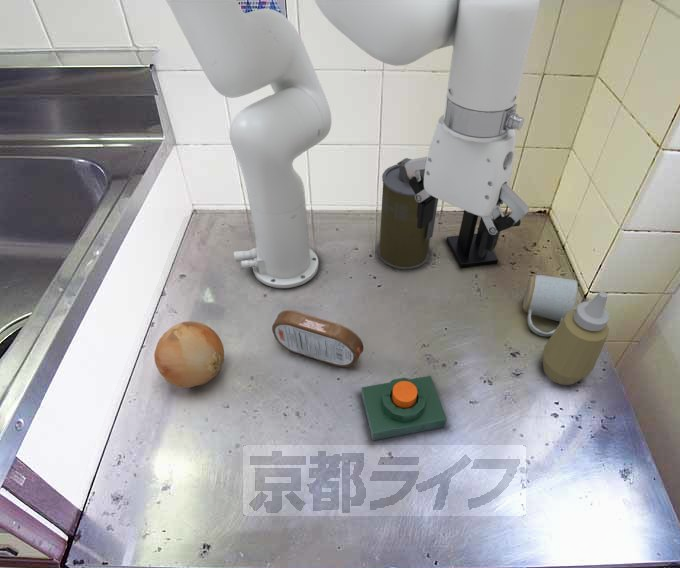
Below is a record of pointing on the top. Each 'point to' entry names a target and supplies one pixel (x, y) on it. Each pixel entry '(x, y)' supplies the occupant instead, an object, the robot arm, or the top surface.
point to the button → (404, 394)
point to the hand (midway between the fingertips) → (453, 237)
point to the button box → (402, 409)
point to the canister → (402, 222)
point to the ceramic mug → (549, 299)
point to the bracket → (470, 243)
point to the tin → (317, 338)
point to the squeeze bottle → (577, 342)
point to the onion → (189, 354)
